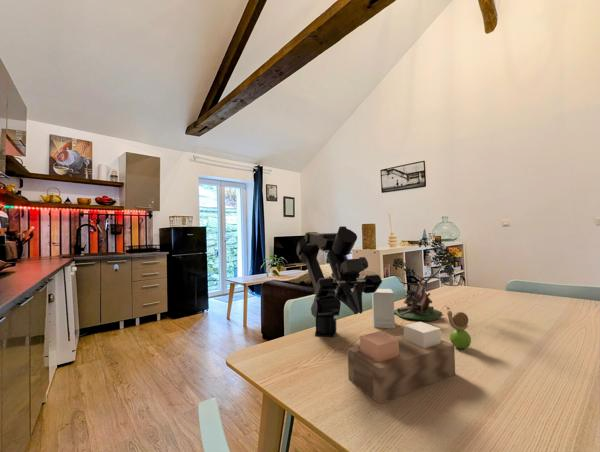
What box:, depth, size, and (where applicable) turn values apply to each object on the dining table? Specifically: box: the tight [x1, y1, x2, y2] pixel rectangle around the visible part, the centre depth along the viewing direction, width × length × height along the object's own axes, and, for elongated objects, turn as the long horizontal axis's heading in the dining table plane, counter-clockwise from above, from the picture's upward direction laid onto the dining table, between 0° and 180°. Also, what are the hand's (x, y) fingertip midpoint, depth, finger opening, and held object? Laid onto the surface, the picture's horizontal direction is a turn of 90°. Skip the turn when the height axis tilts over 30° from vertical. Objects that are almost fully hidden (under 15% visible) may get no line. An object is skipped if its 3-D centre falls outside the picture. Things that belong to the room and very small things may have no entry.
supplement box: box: [371, 288, 396, 329], centre depth 102 cm, size 7×7×13 cm
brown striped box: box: [347, 334, 456, 404], centre depth 66 cm, size 24×11×7 cm, turn 117°
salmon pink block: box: [359, 330, 399, 363], centre depth 62 cm, size 6×6×7 cm
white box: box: [403, 321, 442, 349], centre depth 69 cm, size 6×6×7 cm
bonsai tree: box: [392, 237, 460, 322], centre depth 112 cm, size 35×24×32 cm
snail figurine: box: [446, 306, 472, 349], centre depth 81 cm, size 5×6×12 cm
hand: (359, 313), depth 71 cm, fingers closed
